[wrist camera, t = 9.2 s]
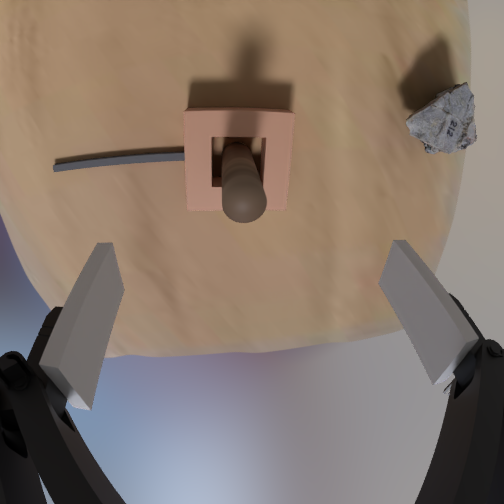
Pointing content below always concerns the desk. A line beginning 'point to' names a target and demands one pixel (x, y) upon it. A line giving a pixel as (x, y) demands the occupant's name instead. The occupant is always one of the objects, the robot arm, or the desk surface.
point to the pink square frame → (237, 125)
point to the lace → (120, 160)
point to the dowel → (241, 185)
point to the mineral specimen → (445, 121)
